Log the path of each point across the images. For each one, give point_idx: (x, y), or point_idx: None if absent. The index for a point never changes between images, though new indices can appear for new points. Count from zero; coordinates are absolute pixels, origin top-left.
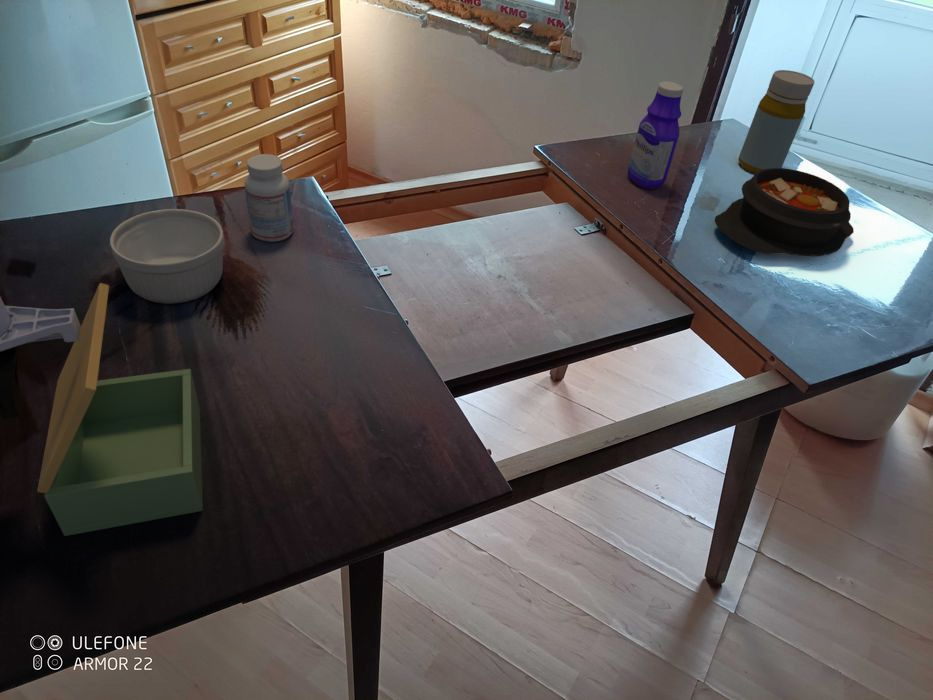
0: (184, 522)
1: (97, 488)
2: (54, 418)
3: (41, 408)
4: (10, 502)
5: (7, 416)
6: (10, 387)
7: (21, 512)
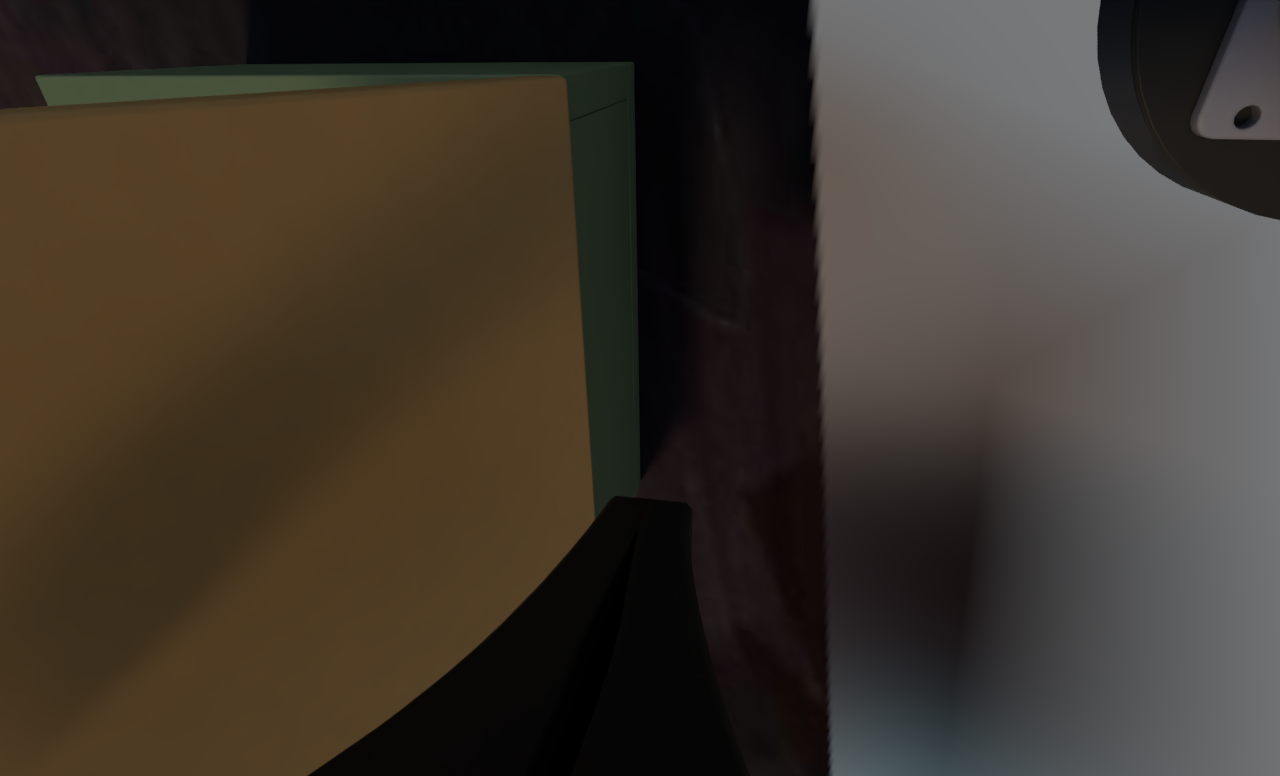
0: (285, 28)
1: (360, 75)
2: (515, 458)
3: (742, 561)
4: (810, 261)
5: (652, 509)
6: (442, 680)
7: (776, 209)
